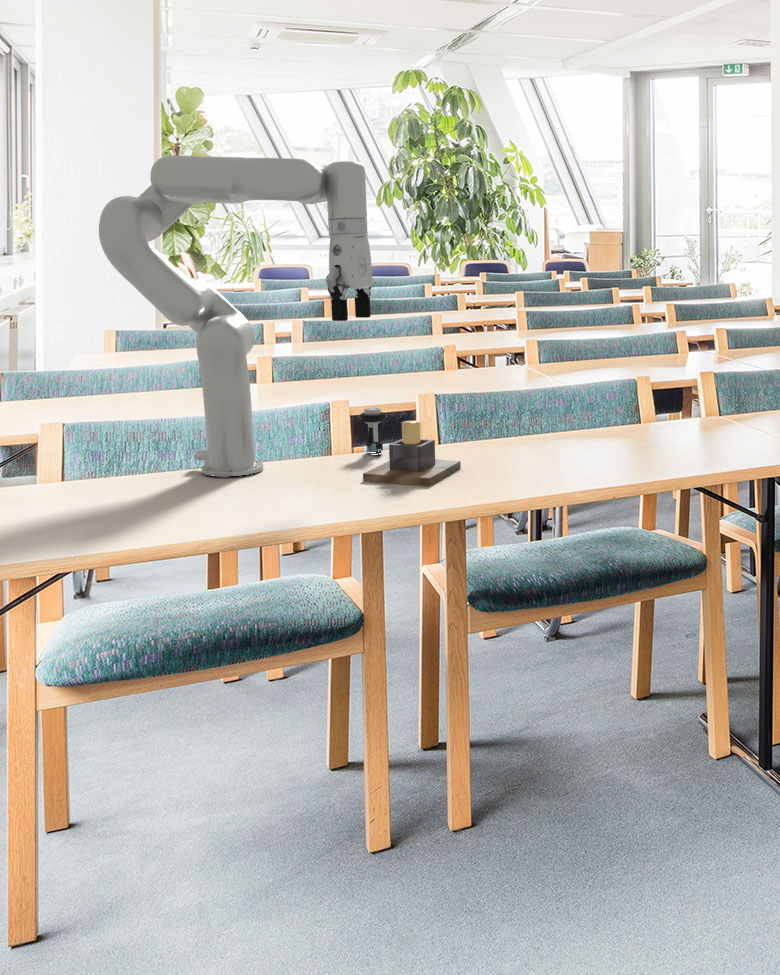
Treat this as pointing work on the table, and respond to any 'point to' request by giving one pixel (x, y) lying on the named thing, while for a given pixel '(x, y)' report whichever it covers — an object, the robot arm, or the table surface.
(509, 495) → the table surface
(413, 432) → the hinge pin
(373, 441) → the push button
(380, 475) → the base with square socket
